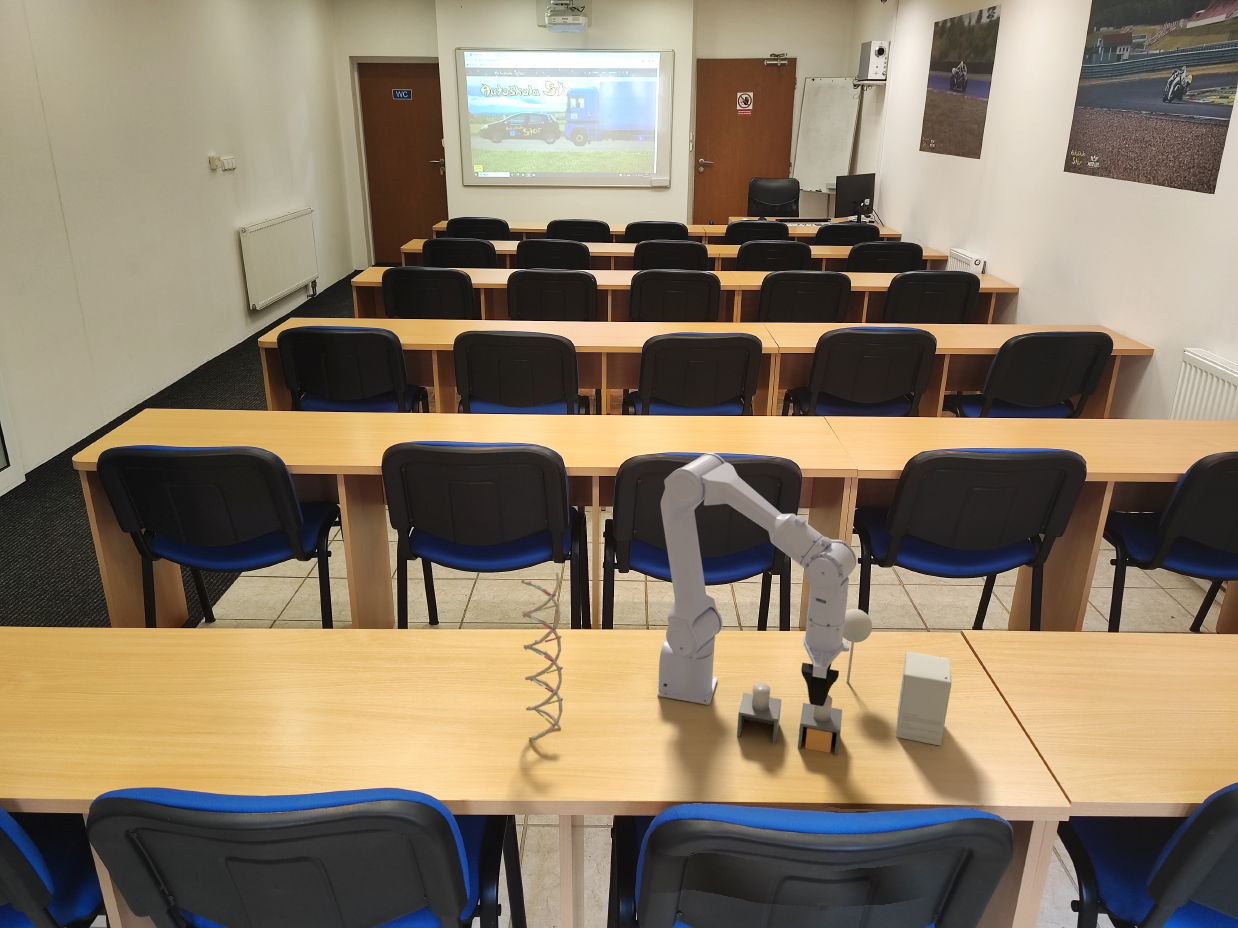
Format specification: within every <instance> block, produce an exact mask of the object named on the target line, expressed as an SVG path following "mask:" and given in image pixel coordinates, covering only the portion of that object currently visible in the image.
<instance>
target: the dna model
mask: <svg viewBox="0 0 1238 928" xmlns="http://www.w3.org/2000/svg"><path fill="white" fill-rule="evenodd" d="M555 578H556V584H555V587H554V589H553V591H552V593H551V592H550V591H548V590H547V589H546V588H544V587H542V586H540V585H537V584H536V583H533V582H532V581H527V580H525V579H521V580H520V582H521V584H524V585H526V586H530V587H533V588H534V589H537V590H539V591H540V592H541V593H543V594H544V595H546V596H548V598H547V599H546V600H545V601H544V602H541V604H539V605H537V606H536V607H535V608H532V609H530V610H527V611H525V610H523V611H521V613H522V617H523V618H524V619H526V618H529V619H531V620H534V621H536V622H537V623H540V624H542V626H544V627H546V628H548V629H549V631H548V632H546V633H545V634H544V635H543V636H542V637H541V638H539V639H534V642H532V643H528V644H522V646H523V649H524V650H525V651H528V650H530V651H532V652H535V653H536V654H537V655H540V656H543V658H545V659H546V660H548V661H549V662H551V663H550V664H548V666H547V667H546V668H544V669H542V670H540V671H539V672H537V671H536V673H534V674H530V675H528V676H525V677H524V680H525V681H530V682H534V683H536V684H537V685H539V686H540V687H543V688H544V689H545V690H547V691H548V692H550V693H551V694H550V695H549V696H548V697H547V698H546V699H545V700H543V701H542V702H540V703H537V704H535V705H534V706H533V705H532V706H527V707H526V708H525V711H535V712H536V713H537V714H538V715H540V716H541V717H543V718H544V719H545V720H546V721H547V722H548V723H549V724H550V725H551V726H550V727H549V728H548V729H546V730H545V731H544V732H541V733H538V734H537V735H533V736H531V737H528V741H534V740H535V741H536V740H537V739H541V738H543V737H545V736H546V735H548V734H549V733H551V732H552V731H553V730H554V729H555V728H556V727H557V728H558V730H561V728H562V727H561V725H560V720H561V717H562V713H563V700H564V698H563V697H561V696H560V693H559V691H560V688H561V685H562V681H563V675H562V670H563V669H564V667H563V666H560V664H559V663H558V660H559V658H560V654H561V652H562V643H561V642H562V641H561V638H563V637H562V636H561V635H559V633H558V631H557V627H558V625H559V624H560V621H561V612H560V611H561V609H560V604H559V603H560V602H558V600H557V598H556V596H557V592H558V589H559V587H560V585H561V583H560V582H561V580H560V574H559V572H558V571H557V572H555ZM551 601H552V603H553V605H549V606H547V605H548V604H549V603H550V602H551ZM552 608H555V609H556V614H555V618H554V623H553V626H552V625H551V624H550V623H549V622H548V621H546V620H544V619H542V618H541V617H538V616H535V615H534V614H533V613H536V612H540V611H543V610H548V609H552ZM552 634H553V635H554V636H555V637H554V638H553V637H552V638H549V637H550V636H551V635H552ZM548 638H549V639H548ZM551 641H556V644H557V652H556V654H555V656H554V657H553V656H552V655H551V654H549V653H548V650H542V649H540V648H539V647H535V646H537V645H540V644H542V643H549V642H551ZM553 666H554V667H555V669H552V668H553ZM554 672H557V676H558V683H557V684H556V687H555V688H554V687H553V686H552V685H550V683H548V681H545V680H544V679H541V678H538V677H540V676H543V675H545V674H550V673H554ZM555 696H556V698H557V699H555V700H553V699H554V698H555ZM552 700H553V701H552ZM554 703H558V715H557V717H555V716H554V715H552V713H550V712H548V711H546V710H545V709H541V708H542V707H544V706H547V705H552V704H554ZM546 716H547V717H546ZM548 717H549V718H548ZM549 719H551V720H552V721H551V720H549Z"/></svg>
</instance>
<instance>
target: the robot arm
mask: <svg viewBox="0 0 1238 928" xmlns="http://www.w3.org/2000/svg"><path fill="white" fill-rule="evenodd" d="M663 484H664V490H663V494H662V496H661V499H660V510H661V517H662V524H663V530H664V538H665V544H666V549H667V550H666V551H667V556H668V563H669V564H668V565H669V569H670V575H671V576H670V577H671V582H672V587H673V588H672V589H673V595H674V601H673V604H672V605H671V607H670V610H669V612H668V615H667V625H668V626H667V629H666V632H665V639H666V640H664V641H663V643H662V645H661V649H660V654H659V655H660V656H659V665H658V691H657V696H658V697H662V698H668V699H673V700H677V701H679V700H680V701H685V702H691V703H695V704H701V705H706V706H709V705H710V704H712V703H711V702H712V699H713V695H714V692H715V689H716V686H717V682H718V677H716V676H713V675H714V674H713V673H714V660H715V659H714V655H715V642H716V635H718V634H719V633H720V632H721V630H722V629H723V618H722V616H721V614H720V612H719V611H718V608H717V605H716V600H715V598H714V597H712V596H710V595H709V594H707V590H706V584H705V578H704V570H703V564H702V563H703V562H702V557H701V550H700V542H699V535H698V528H697V521H696V514H695V510H696V508H698V506H699V505H700V504H701V503H702V502H703V506H715V505H725V504H726V505H729V506H730V507H731V508H733V509H735V510H736V511H737V512H739V513H740V514H743V516H746V518H748V519H750V520H751V521H752V522H754V523H756V525H759V526H760V527H762V528H763V529H764V530H766V531H767V532H768V535H769V540H770V542H771V544H773V545H774V546H775V547H776V548H778V549H779V550H780V551H781V552H783V553H784V554H786V556H788V558H791V559H792V560H793V561H795V563H796V564H798V565H799V566H801V567H802V568H803V569H804V573H805V576H806V579H807V580H808V582H809V585H810V586H809V594H808V604H807V617H806V626H805V635H804V637H803V646H804V648H805V652H807V654H808V657H809V659H810V661H811V663H809V662H808V663H807V662H802V664H801V668H800V671H801V676H802V677H803V679H804V681H805V683H806V686H807V687H806V688H807V694H808V700H809V704H812V705H817V706H823V705H824V704H825V701H826V698H827V695H829V692H830V690H831V688H832V686H833V685H834V684H835V683H836V682H837V681H838V679H839V675H840V673H839V672H840V670H837V669H831V666H832V663H833V662H834V661H835V659H837V657H838V656H839V655H840V654H841V653H842V652H850V648H851V645H850V643H851V642H850V641H848V640H843V639H844V638H843V631H844V622H845V614H846V611H847V605H848V594H849V593H848V590H849V582H850V578H849V576H850V575H851V574H852V573H853V571H854V569H856V565H857V557H856V553H855V551H854V550H853V549H852V547H850V546H849V545H848V543H847V542H845V541H844V540H841V539H831V538H829V537H828V536H825V535H823V534H822V533H820V532H819V531H818V530H816V529H815V528H814V527H812V525H810V524H808V523H807V519H806V518H804V517H803V516H802V515H799V516H797V515H796V514H795V513H782V512H780V511H779V510H778V509H777V508H776V507H774V506H773V504H771V503H770V502H769V501H767V500H766V499H765V498H764V497H763V496H762V495H761V494H759V492H757V491H756V490H755V489H753V488H752V486H750V485H749V484H748V483H747V482H746V481H744V480H743V479H742V478H741V477H740V476H739V475H738V473H737V470H736V469H735V467H734V466H733V465H732V464H731V463H729V462H728V461H725V460H724V458H722V457H721V456H720V455H718V454H716V453H714V452H706V453H704V454H702V455H700V456H699V457H698V458H696V459H694V460H692V461H691V462H690V463H687V464H685V465H684V466H682V467H680V468H677V469H675V470H674V471H672V473H670V474H669V475H668V476H667V477H666V478H665V479H664V481H663Z"/></svg>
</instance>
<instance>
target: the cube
mask: <svg viewBox="0 0 1238 928" xmlns="http://www.w3.org/2000/svg"><path fill="white" fill-rule="evenodd" d="M832 739H833V735H832V731H826V730H820V729H815V728H809V727H807V730H806V736H805V746H804V748H805V749H810V750H814V751H819V752H826V753H831V748H832Z"/></svg>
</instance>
